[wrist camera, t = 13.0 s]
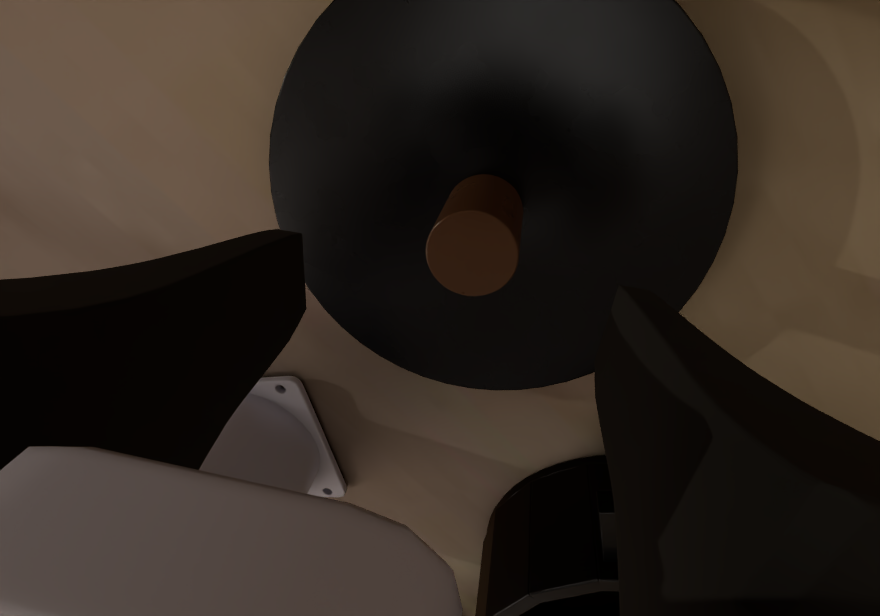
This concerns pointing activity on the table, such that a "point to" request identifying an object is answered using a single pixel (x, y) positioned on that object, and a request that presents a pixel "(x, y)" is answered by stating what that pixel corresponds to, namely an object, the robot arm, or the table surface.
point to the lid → (501, 175)
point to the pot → (553, 545)
